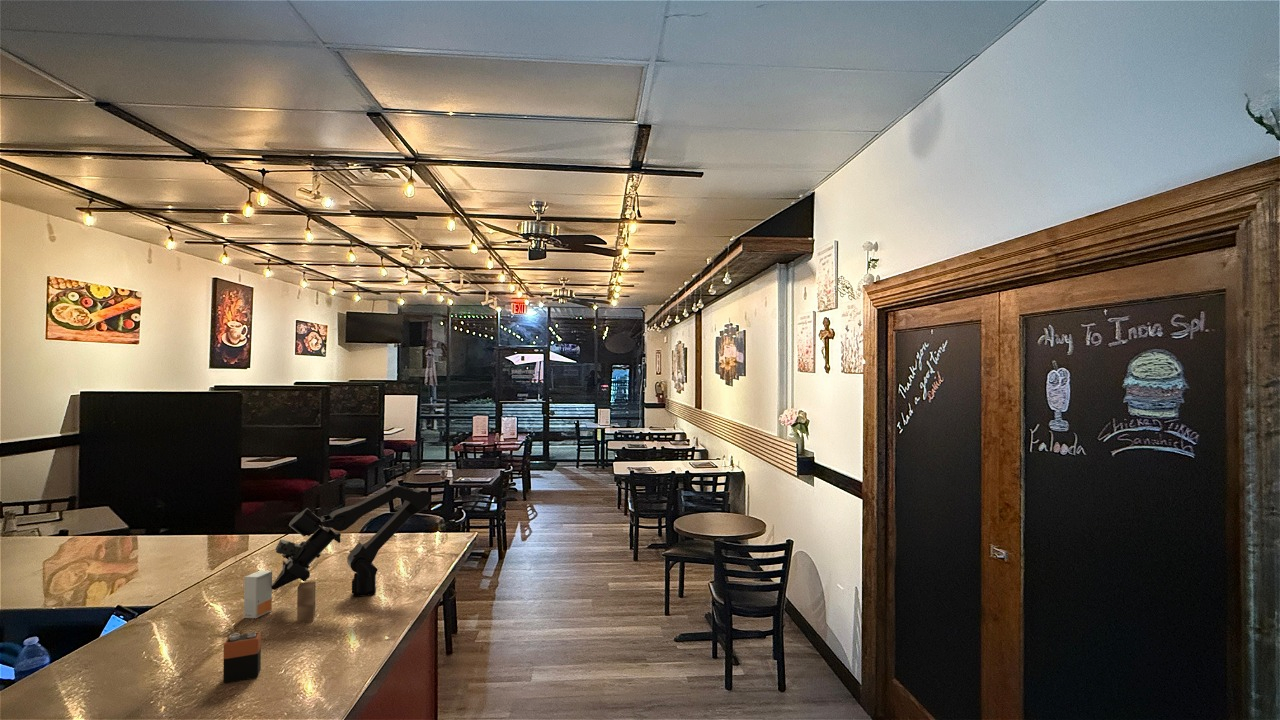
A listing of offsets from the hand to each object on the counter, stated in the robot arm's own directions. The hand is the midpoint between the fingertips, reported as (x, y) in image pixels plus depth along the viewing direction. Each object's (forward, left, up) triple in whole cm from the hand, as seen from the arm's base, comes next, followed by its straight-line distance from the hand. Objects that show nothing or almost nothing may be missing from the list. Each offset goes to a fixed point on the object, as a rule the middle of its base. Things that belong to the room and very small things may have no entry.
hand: (272, 588), depth 178 cm
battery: (-3, +42, -7) cm, 43 cm away
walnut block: (-11, +10, -7) cm, 16 cm away
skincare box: (+3, +1, -7) cm, 8 cm away
